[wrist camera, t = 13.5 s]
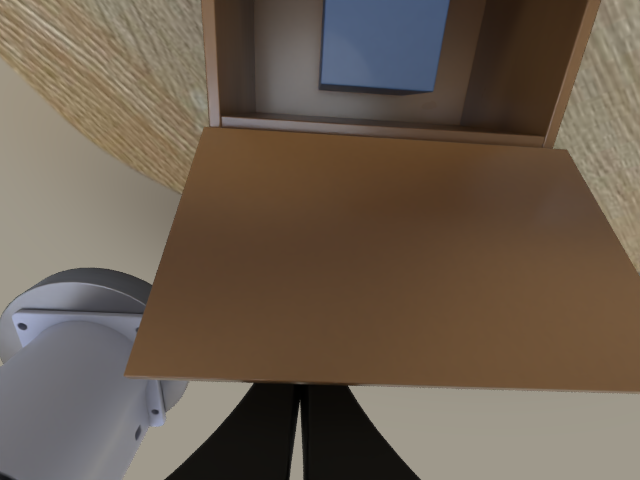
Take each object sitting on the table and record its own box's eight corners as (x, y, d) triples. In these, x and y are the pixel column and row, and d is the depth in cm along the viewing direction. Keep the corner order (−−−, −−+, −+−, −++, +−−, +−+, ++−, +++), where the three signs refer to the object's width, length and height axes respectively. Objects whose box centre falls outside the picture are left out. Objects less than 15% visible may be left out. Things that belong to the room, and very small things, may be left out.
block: (419, -9, 15) (460, -53, 11) (403, 95, 17) (434, 92, 13) (324, -17, 15) (328, -65, 11) (318, 89, 17) (320, 84, 12)
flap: (567, 149, 10) (561, 156, 11) (203, 126, 10) (205, 134, 10) (708, 393, 7) (692, 395, 7) (122, 376, 6) (129, 379, 6)
